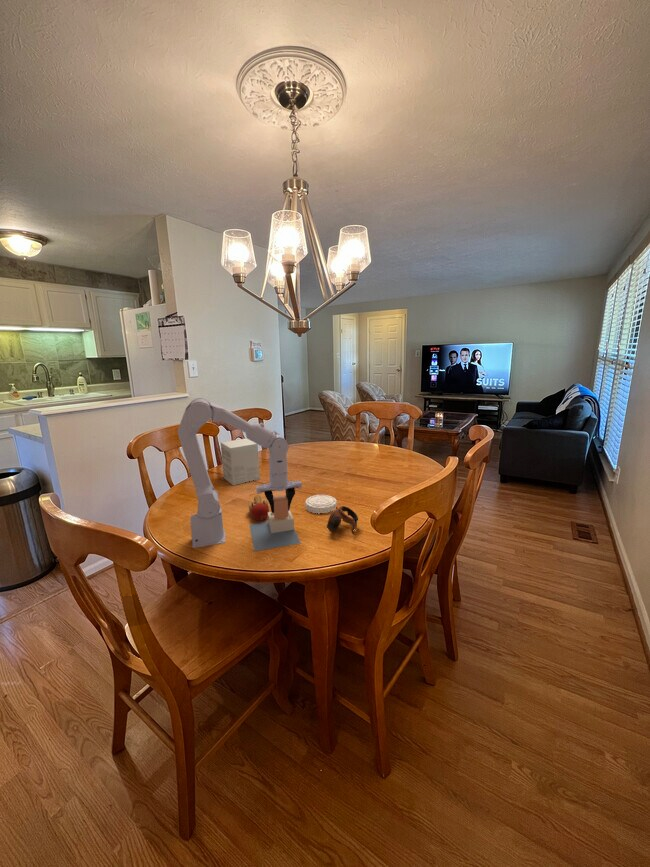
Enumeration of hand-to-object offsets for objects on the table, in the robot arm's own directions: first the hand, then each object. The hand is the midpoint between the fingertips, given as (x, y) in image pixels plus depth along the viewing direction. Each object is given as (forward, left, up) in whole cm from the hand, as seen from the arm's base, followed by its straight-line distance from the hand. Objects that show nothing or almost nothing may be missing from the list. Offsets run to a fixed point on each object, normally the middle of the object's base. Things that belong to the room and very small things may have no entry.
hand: (280, 510), depth 112 cm
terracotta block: (0, 0, -2) cm, 2 cm away
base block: (0, 0, -6) cm, 6 cm away
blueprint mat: (-3, -4, -6) cm, 8 cm away
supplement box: (-10, +52, -6) cm, 53 cm away
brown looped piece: (+18, -7, -6) cm, 21 cm away
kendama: (-6, +14, -6) cm, 16 cm away
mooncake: (+17, +10, -6) cm, 21 cm away
